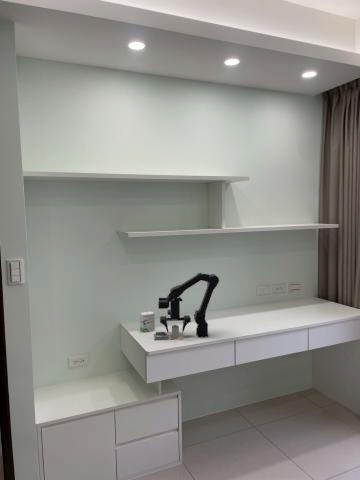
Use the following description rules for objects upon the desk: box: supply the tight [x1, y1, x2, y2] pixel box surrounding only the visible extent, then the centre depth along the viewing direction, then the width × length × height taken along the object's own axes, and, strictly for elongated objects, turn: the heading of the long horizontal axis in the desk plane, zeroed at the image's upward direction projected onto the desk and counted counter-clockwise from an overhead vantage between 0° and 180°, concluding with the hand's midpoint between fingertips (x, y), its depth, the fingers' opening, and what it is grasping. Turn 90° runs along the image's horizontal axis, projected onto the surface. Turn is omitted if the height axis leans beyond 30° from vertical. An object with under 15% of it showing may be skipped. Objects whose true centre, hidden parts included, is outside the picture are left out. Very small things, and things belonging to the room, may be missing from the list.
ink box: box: [139, 311, 156, 333], centre depth 240 cm, size 8×5×12 cm, turn 116°
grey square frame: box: [153, 331, 169, 341], centre depth 228 cm, size 8×9×2 cm
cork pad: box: [167, 333, 184, 341], centre depth 229 cm, size 9×9×1 cm
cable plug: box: [171, 324, 180, 338], centre depth 228 cm, size 4×5×7 cm
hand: (175, 332), depth 228 cm, fingers open, 9 cm apart
